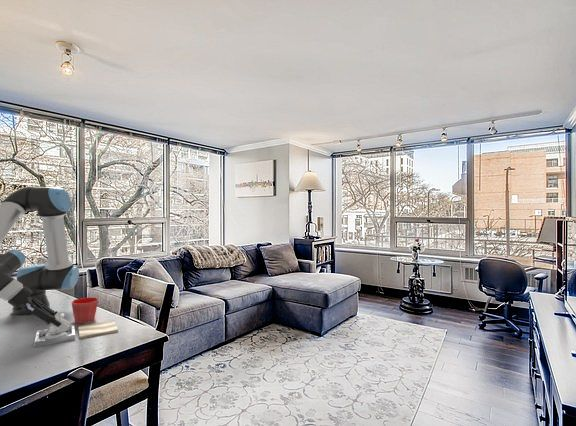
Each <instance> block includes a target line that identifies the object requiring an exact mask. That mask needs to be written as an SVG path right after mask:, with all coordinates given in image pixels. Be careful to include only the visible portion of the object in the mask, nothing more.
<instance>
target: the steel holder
mask: <svg viewBox="0 0 576 426" xmlns="http://www.w3.org/2000/svg"><path fill="white" fill-rule="evenodd" d="M69 326H70V327H69V328H68V329H67V330H66V331H65V332H66V333H67V332H71V333H70V334H67V335H65V336H59V337H53V338H48V339H44V338H42V339H40V337H42V336H46V334H48V333H49V331H48V330H49V328H45V329H41V330H37V331H36V332H35V338H34V341H33V342H34V344H33V346H34V347H42V346H45V345H46V346H47V345H53V344H58V343H62V342H68V341H73V340H74V341H75V340H76V329H75V325H74V324H72V325H71V324H70V325H69ZM59 331H61V330H60V329H59Z"/></svg>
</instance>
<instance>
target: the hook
mask: <svg viewBox="0 0 576 426" xmlns="http://www.w3.org/2000/svg"><path fill="white" fill-rule="evenodd" d="M58 315H59V317H58V319H60V320H61V321H62V319H65V318H64V317H65V315H66V314H65V313H63V312H62V313H61V314H58ZM48 329H49V330H48V331H49V333H48V334H46V335H44V338H43V339H48V338H53V337H59V336H65V335H68V334H67V331H66V332H63V331H59V329H58V328H57V327H55V326H54V325H51V326H50V327H49V328H48Z"/></svg>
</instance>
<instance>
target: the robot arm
mask: <svg viewBox="0 0 576 426" xmlns="http://www.w3.org/2000/svg"><path fill="white" fill-rule="evenodd" d="M71 205H72V202H71V196H70V194H69V192H68V191H67V190H66V189H64V188H62V187H55V186H25V187H21V188H18V189H17V190H15V191H14V192H12V193H10V194H9V195H8V196H6V197H5V198H4V199H3V200H2V202H0V245H1V243H2V242H3V241H4V240H5V238H6V236H7V235H8V233H10V231H11V229H12V228H13V226H14V225H15V224H16V222H17V221H18V220H19V218H20V217H23V216H24V215H25V214H26V213H27V212H30V211H31V212H33V211H34V212H36V211H37V213H36V214H37V216H38V217H39V218H41V220H42V226H43V234H44V241H45V248H46V255H47V260H48V261H47V262H48V263H47V264H46V263H41V264H34V265H29V266H23V265H24V264H25V262H26V260H27V259H26V255H25V253H23V252H22V251H21V250H18V249H10V250H8V251H6V252H4V253H3V254H2V253H0V299H2V300H3V301H7V303H8V304H9V305H10V306H12V310H11V311H12V312H11V313H12V315H15V316H23V315H25V316H26V315H34V316H35V317H36V318H39V319H40V320H41V321H43V322H45V323H46V325H48V326H49V325H51V326H53V325H54V326H55V327H57V328H58V329H60V330H61V331H63V332H65V331H66V330H67V329H68V328H69V327H70V325H69V324H70V322H69V321H68V320H67V319H65V318H63V319H62V321H61V320H60V319H58V317H59V315H60V314H58V311H57V310H56V311H55V310H53V309H52V308H51V306H50V305H51V304H50V301H49V299H48V296H47V292H46V291H57V290H58V291H64V290H70V289H73V288H74V287H75V286H76V284H77V282H78V281H79V276H80V269H79V267H77V266H74V263H73V261H71V260H70V259H69V258H70V257H69V251H68V242H67V235H66V226H65V219H64V218H65V216H66V215H67V212H68V211H69V210H70V208H71ZM22 266H23V267H22ZM15 272H17V273H16V279H15V278H14V277H12V276H11V275H13V274H14V273H15ZM66 332H67V331H66Z"/></svg>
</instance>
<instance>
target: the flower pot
mask: <svg viewBox="0 0 576 426" xmlns="http://www.w3.org/2000/svg"><path fill="white" fill-rule="evenodd" d="M98 303H99V298H98V297H83V298H82V297H81V298H77V299H73V300H72V301H71V307H72V315H73V319H74V322H75V323H77V324H87V323H90V322H92V321H94V320H95V318H96V317H95V316H96V313H97V308H98Z"/></svg>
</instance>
